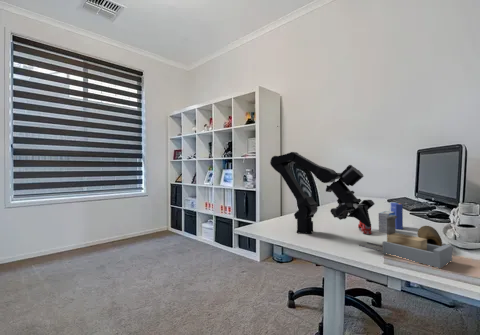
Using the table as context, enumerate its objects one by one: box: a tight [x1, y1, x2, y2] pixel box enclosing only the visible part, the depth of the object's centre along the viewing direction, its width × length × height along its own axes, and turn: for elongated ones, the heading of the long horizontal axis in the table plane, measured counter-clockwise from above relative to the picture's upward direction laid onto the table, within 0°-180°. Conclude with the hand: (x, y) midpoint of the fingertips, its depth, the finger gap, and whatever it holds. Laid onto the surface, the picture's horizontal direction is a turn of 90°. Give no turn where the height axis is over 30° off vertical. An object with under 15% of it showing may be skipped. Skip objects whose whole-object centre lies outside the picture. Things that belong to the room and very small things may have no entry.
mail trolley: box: [386, 216, 427, 251], centre depth 83 cm, size 10×6×12 cm, turn 34°
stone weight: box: [417, 225, 443, 246], centre depth 92 cm, size 15×7×7 cm, turn 152°
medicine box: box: [378, 210, 395, 234], centre depth 114 cm, size 8×4×9 cm, turn 131°
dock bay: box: [359, 240, 453, 269], centre depth 85 cm, size 25×10×5 cm, turn 34°
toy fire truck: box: [357, 220, 372, 235], centre depth 115 cm, size 3×14×10 cm, turn 168°
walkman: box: [388, 201, 404, 230], centre depth 122 cm, size 8×3×12 cm, turn 170°
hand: (369, 226), depth 93 cm, fingers closed
